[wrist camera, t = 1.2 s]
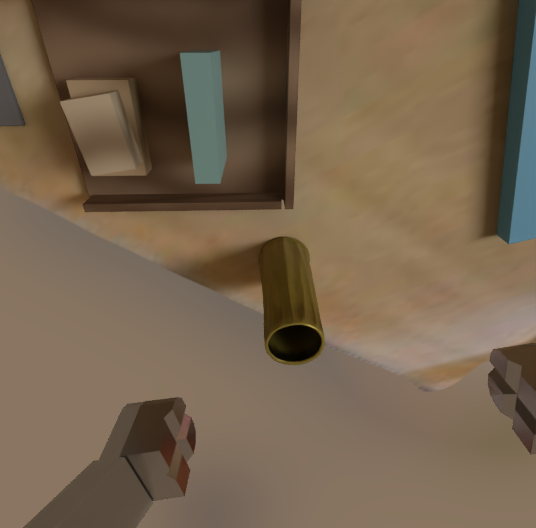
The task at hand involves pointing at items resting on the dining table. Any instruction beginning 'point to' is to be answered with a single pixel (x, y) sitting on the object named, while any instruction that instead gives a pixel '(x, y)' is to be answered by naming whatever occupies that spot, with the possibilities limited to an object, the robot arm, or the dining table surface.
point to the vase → (289, 303)
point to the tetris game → (521, 136)
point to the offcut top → (102, 132)
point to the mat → (8, 101)
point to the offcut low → (132, 108)
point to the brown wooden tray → (173, 97)
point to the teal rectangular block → (205, 113)
